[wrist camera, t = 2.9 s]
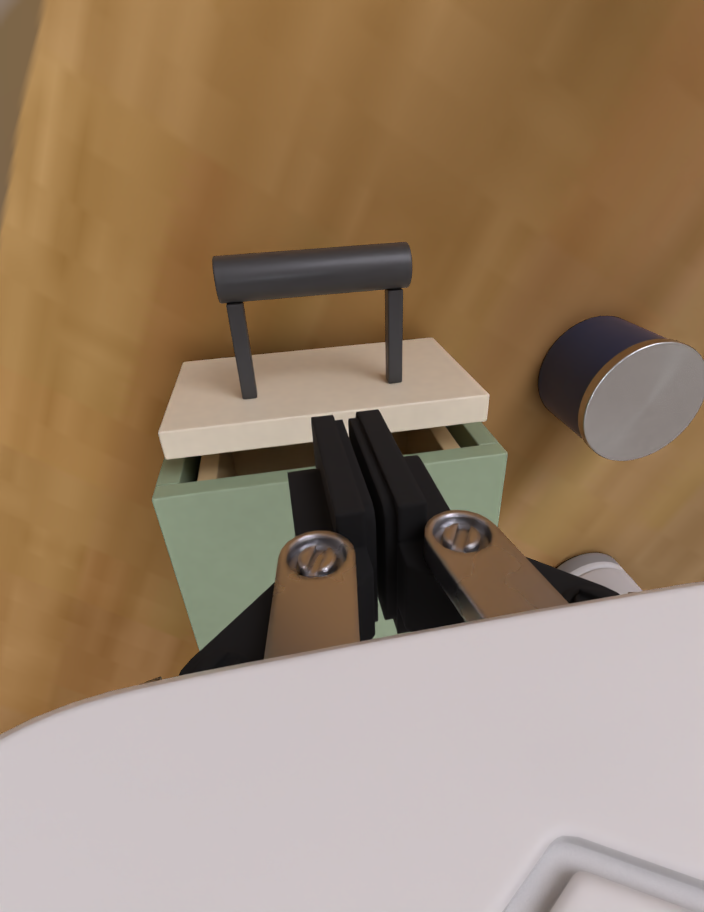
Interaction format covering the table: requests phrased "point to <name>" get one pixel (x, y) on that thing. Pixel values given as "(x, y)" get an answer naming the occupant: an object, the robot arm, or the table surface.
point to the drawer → (314, 370)
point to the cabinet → (284, 524)
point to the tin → (621, 386)
